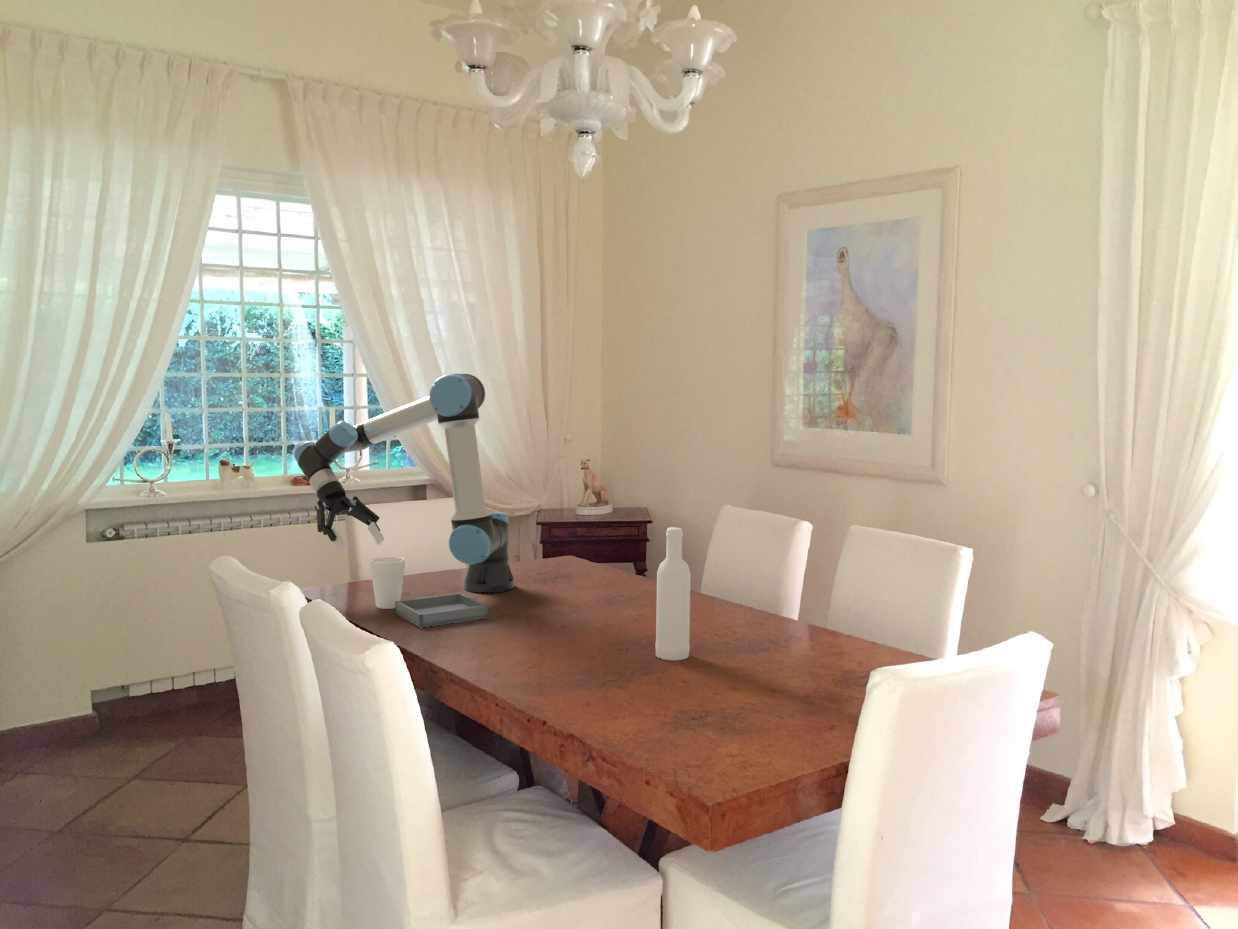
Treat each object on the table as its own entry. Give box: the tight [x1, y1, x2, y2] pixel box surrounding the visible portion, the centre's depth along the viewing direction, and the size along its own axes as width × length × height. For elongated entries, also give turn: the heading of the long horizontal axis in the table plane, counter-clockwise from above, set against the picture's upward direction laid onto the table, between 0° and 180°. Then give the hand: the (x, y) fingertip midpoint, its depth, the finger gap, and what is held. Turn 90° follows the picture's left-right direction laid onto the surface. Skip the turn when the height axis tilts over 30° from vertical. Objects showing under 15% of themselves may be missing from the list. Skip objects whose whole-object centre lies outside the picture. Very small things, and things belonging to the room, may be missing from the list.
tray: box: [394, 592, 489, 628], centre depth 255 cm, size 19×17×4 cm
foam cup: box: [369, 556, 406, 610], centre depth 265 cm, size 10×9×13 cm
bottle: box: [654, 526, 692, 662], centre depth 221 cm, size 8×8×30 cm
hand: (362, 545), depth 271 cm, fingers open, 13 cm apart
